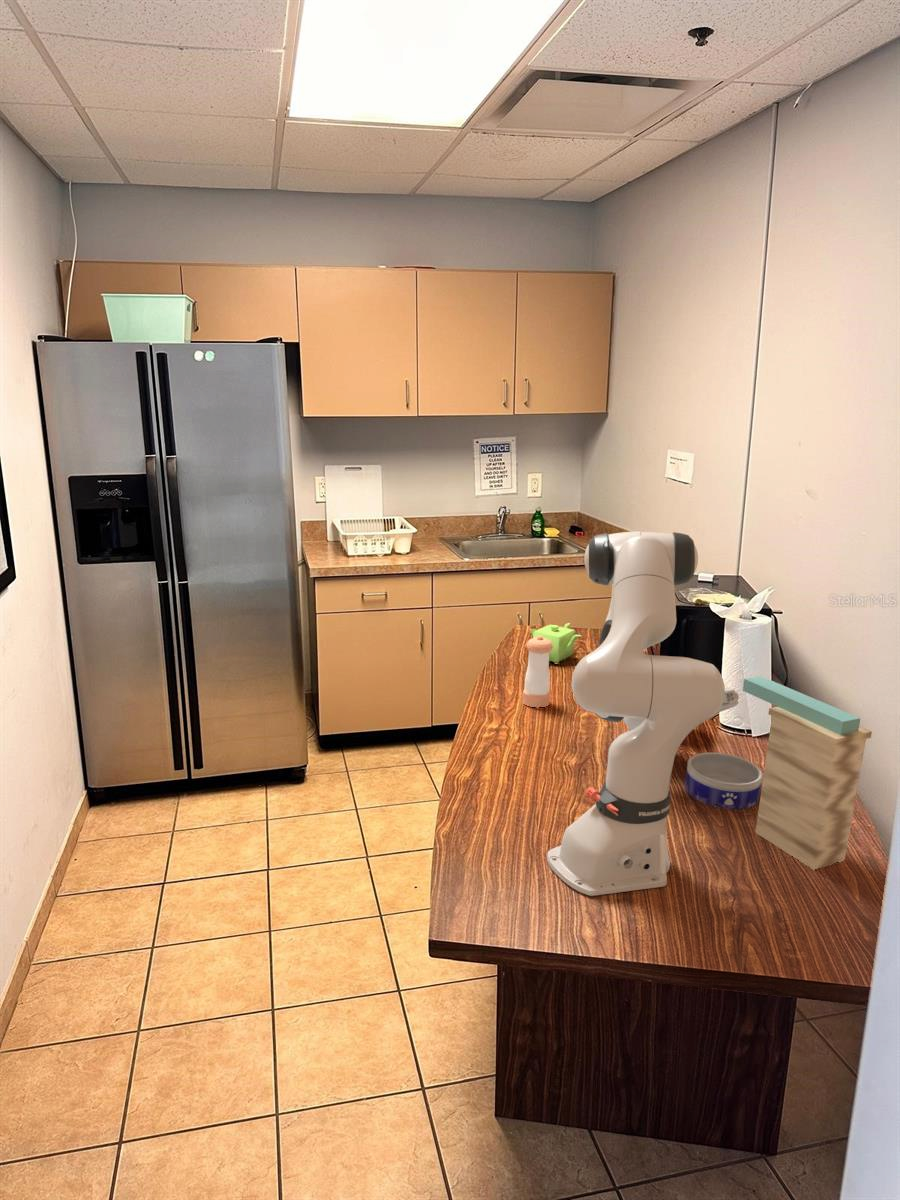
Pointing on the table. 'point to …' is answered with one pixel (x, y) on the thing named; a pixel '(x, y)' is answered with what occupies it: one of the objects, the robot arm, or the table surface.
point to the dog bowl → (723, 780)
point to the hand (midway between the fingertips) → (718, 698)
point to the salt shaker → (537, 673)
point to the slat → (802, 705)
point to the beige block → (809, 788)
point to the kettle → (558, 640)
